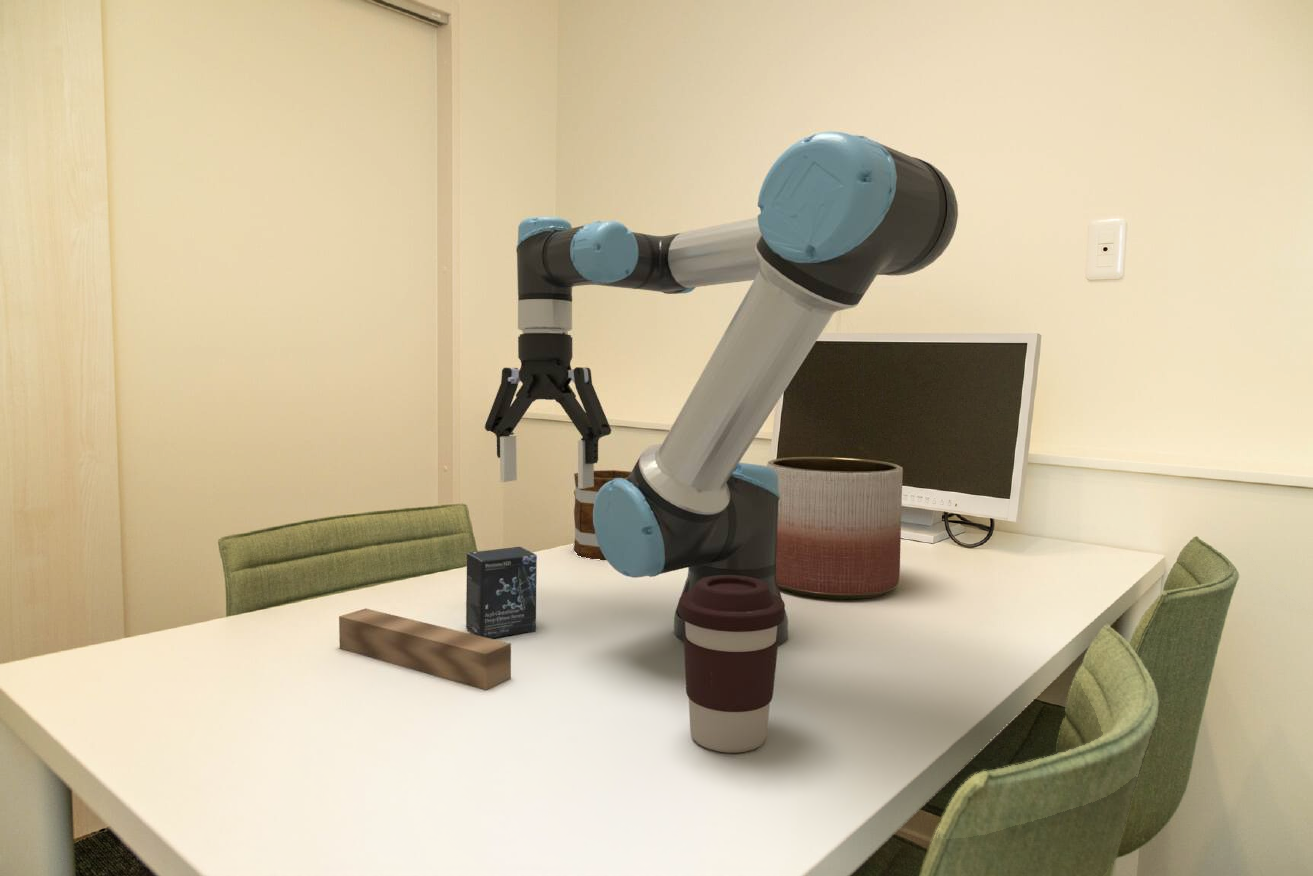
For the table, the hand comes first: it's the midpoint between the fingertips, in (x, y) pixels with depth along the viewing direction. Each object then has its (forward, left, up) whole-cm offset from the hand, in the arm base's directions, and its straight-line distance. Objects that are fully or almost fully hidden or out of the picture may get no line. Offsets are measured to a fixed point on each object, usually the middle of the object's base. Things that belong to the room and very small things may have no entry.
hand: (546, 484), depth 114 cm
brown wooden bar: (0, +24, -18) cm, 30 cm away
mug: (+11, -35, -19) cm, 41 cm away
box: (0, +10, -19) cm, 21 cm away
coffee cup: (-39, +22, -19) cm, 48 cm away
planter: (-29, -38, -19) cm, 52 cm away
